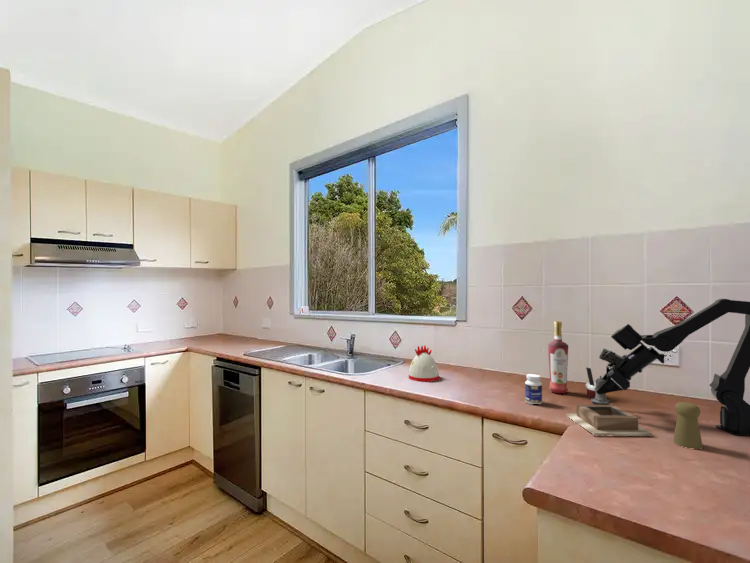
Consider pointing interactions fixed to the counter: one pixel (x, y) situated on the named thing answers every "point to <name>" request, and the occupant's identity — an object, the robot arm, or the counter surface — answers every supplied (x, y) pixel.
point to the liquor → (558, 362)
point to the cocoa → (590, 384)
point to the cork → (687, 426)
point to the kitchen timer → (423, 366)
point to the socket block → (607, 421)
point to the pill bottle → (533, 389)
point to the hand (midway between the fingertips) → (597, 389)
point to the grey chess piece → (600, 398)
